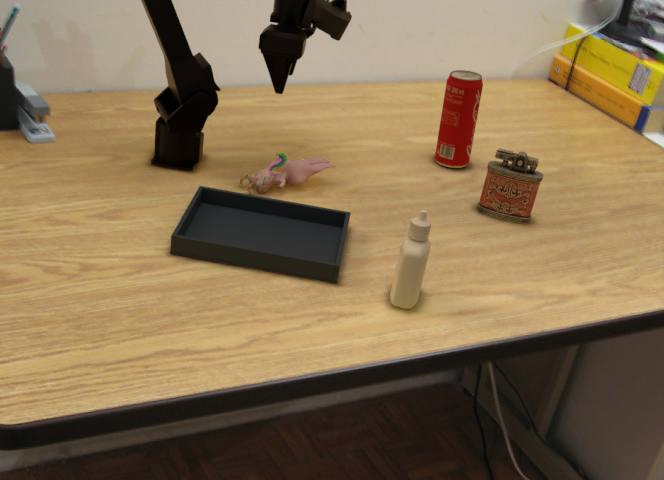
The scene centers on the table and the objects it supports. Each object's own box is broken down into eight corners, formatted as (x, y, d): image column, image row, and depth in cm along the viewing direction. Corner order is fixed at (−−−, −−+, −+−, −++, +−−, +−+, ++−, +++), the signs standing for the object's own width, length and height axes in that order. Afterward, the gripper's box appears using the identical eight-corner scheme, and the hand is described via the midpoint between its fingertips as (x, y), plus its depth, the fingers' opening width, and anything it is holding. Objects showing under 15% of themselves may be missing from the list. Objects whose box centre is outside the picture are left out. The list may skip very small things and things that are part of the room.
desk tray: (170, 253, 109) (171, 235, 108) (198, 202, 122) (199, 185, 121) (336, 284, 108) (340, 266, 106) (347, 228, 121) (350, 212, 119)
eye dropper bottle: (375, 296, 106) (394, 209, 100) (404, 283, 110) (423, 197, 104) (403, 313, 104) (423, 224, 98) (431, 299, 107) (453, 212, 101)
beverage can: (467, 172, 143) (489, 84, 135) (428, 165, 143) (448, 76, 135) (468, 159, 148) (490, 72, 140) (430, 151, 148) (449, 65, 140)
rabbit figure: (253, 208, 125) (343, 182, 131) (251, 172, 122) (344, 146, 127) (235, 189, 130) (322, 165, 135) (232, 154, 126) (322, 130, 132)
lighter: (530, 216, 131) (549, 155, 126) (528, 226, 128) (547, 163, 123) (478, 203, 133) (494, 142, 128) (474, 212, 130) (490, 150, 125)
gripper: (346, 1, 115) (329, 113, 124) (358, -27, 131) (342, 74, 139) (263, -12, 116) (252, 100, 124) (286, -38, 132) (274, 62, 140)
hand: (284, 83), depth 132 cm, fingers open, 9 cm apart
